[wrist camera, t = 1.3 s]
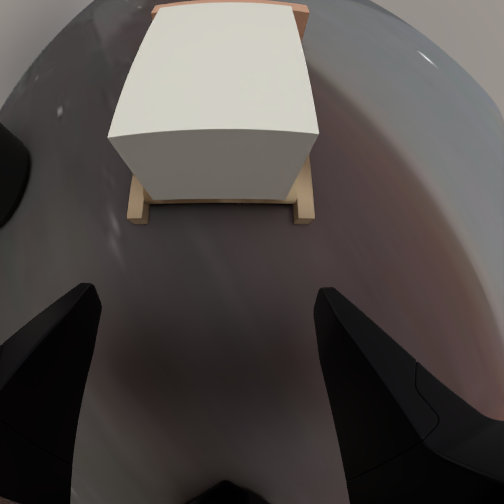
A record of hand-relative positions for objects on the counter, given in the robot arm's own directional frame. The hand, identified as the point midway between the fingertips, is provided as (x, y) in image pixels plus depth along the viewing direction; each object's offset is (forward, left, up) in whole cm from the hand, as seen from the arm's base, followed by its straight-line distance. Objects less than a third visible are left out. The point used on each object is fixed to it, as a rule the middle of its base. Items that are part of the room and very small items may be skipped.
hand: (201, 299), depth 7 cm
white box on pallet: (+9, +9, -9) cm, 16 cm away
